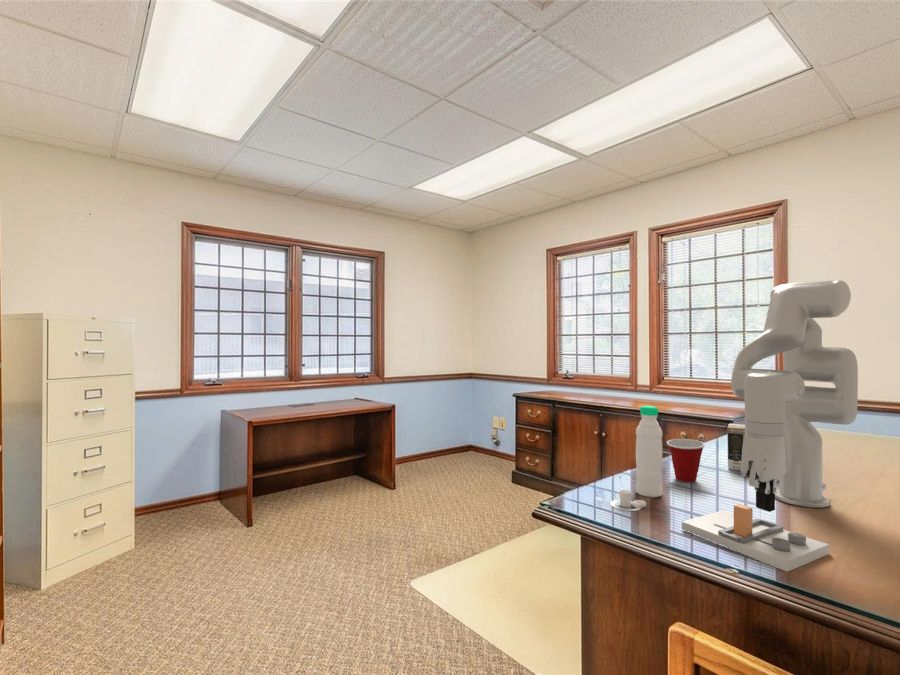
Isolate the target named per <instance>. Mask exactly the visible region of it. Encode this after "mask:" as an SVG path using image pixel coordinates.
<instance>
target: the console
mask: <svg viewBox="0 0 900 675" xmlns="http://www.w3.org/2000/svg"><path fill="white" fill-rule="evenodd" d="M682 529H683V530H686V531H689V532H691V533H694V534H696V535H699V536H701V537H704V538H706V539H709V540H711V541H714V542H716V543H719V544H721V545H724V546H726V547H728V548H731V549H733V550H735V551H734V552H736V551H737V552H736V553H738V552H740V553H739V554H741V553H742V554H741V555H743V554H744V556H746V555H747V556H746V557H748V556H749V557H748V558H751V557H752V558H751V559H753V558H754V560H756V561H758V560H759V561H758V562H762V563H763V564H766V565H768V564H769V566H771V567H774V568H777V569H779V570H782V571H783V572H787V573H788V572H790V571H792V570H795V569H797V568H800V567H802V566H804V565H807V564H809V563H811V562H813V561H815V560H818V559H821V558H823V557H826V556H827V555H829V554H830V544H829V543H825V542H822V541H820V540H817V539H815V538H810V537H807V536H806V535H804V534H801V533H798V532H792V531H790V530H786V529H784V526H781V525H780V524H778V523H775V522H772V521H768V520H766V519H760V518H756V519H755V518H754V519H752V534H750V535H747V536H744V537H743V536H740V535H738V534H735V533H734V512H731V511H727V510H724V509H722V510H719V511H716V512H711V513H708V514H704V515H700V516H697V517H694V518H690V519H686V520H682V521H681V530H682ZM728 548H727V549H728ZM731 549H730V550H731ZM733 550H732V551H733Z"/></svg>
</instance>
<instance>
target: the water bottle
mask: <svg viewBox="0 0 900 675" xmlns="http://www.w3.org/2000/svg"><path fill="white" fill-rule="evenodd" d="M639 412H640V417H641V419H640V421H639V423H638V425H637V427H636V429H635V434H636V440H635V465H636V468H635V479H636V480H635V492H636V494H638V495H639V496H642V497H646V498H659V497H661V496H662V495H663V484H662V483H663V471H662V470H663V469H662V467H663V439H662V438H663V430H662V427H661V426H660V424H659V422H658V420H657V418H658V415H659V409H658V407H657V406H652V405H643V406H641V407H640V410H639Z"/></svg>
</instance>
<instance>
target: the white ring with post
mask: <svg viewBox="0 0 900 675" xmlns="http://www.w3.org/2000/svg"><path fill="white" fill-rule="evenodd" d="M616 494H618V495H619V499H617V496H616ZM632 496H633V492H632V491H630V490H626V489H620V490H618V491H616V492H615V493H614V498H615V499H614V500H611V501H610V502H609V505H610V507H612V508H614V509H617V510H621V511H627V512H629V511H630V512H634V511H635V512H637V511H640V510H641V509H642V508H645V507H646V506H647V502H646V501H645V500H643V499H635V500H633V501H632V498H633V497H632ZM617 503H619V505H621V506H622V507H624V508H621V507H618V506H616V505H615V504H617ZM631 506H632V507H633V509H632V508H630V507H631ZM626 508H627V509H626ZM629 508H630V509H629Z"/></svg>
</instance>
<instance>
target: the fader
mask: <svg viewBox="0 0 900 675" xmlns="http://www.w3.org/2000/svg"><path fill="white" fill-rule="evenodd" d="M733 513H734V533H735V534H738V535H740V536H743V537H744V536H747V535H750V534H752V520H753V507H751V506H747V505H744V504H740V503H738V504H734V505H733Z"/></svg>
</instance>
